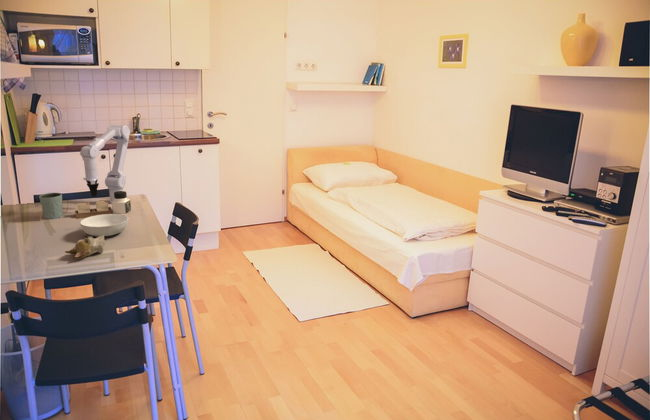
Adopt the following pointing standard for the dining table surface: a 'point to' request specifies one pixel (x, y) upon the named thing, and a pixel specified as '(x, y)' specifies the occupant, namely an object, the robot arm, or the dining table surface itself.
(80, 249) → the ceramic sculpture
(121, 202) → the medicine bottle
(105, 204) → the block
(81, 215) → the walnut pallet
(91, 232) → the serving bowl
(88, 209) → the birch block
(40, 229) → the dining table surface
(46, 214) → the green cylindrical pot
